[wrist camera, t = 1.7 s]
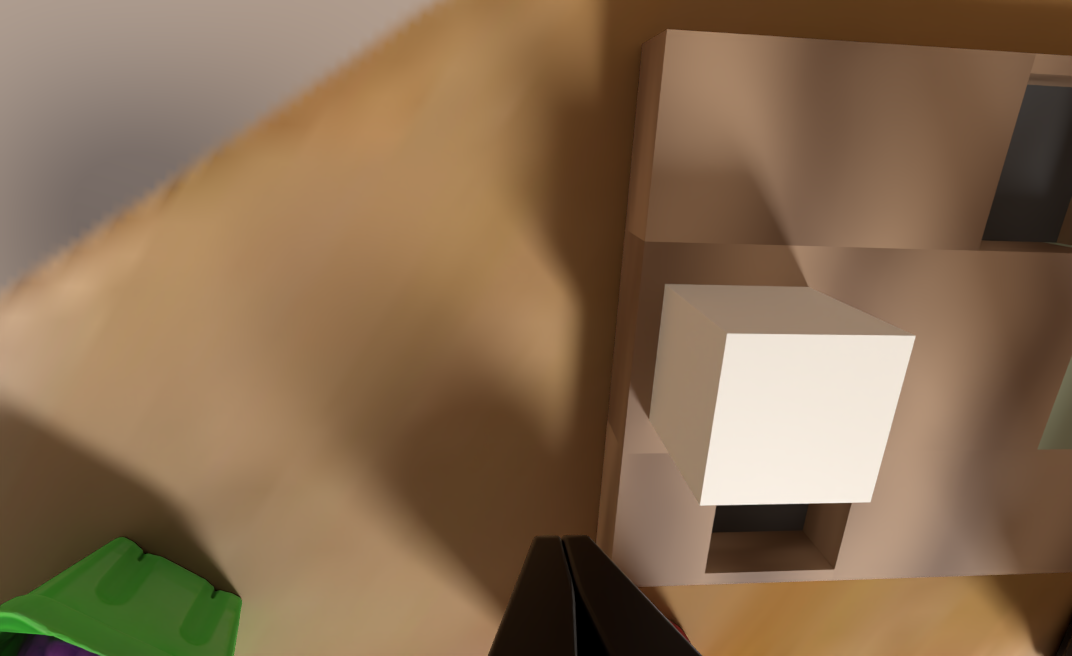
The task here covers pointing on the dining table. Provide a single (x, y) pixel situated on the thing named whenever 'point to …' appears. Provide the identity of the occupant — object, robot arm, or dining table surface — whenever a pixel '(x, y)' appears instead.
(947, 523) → the trap board
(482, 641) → the dining table surface
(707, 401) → the block
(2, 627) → the fruit basket
